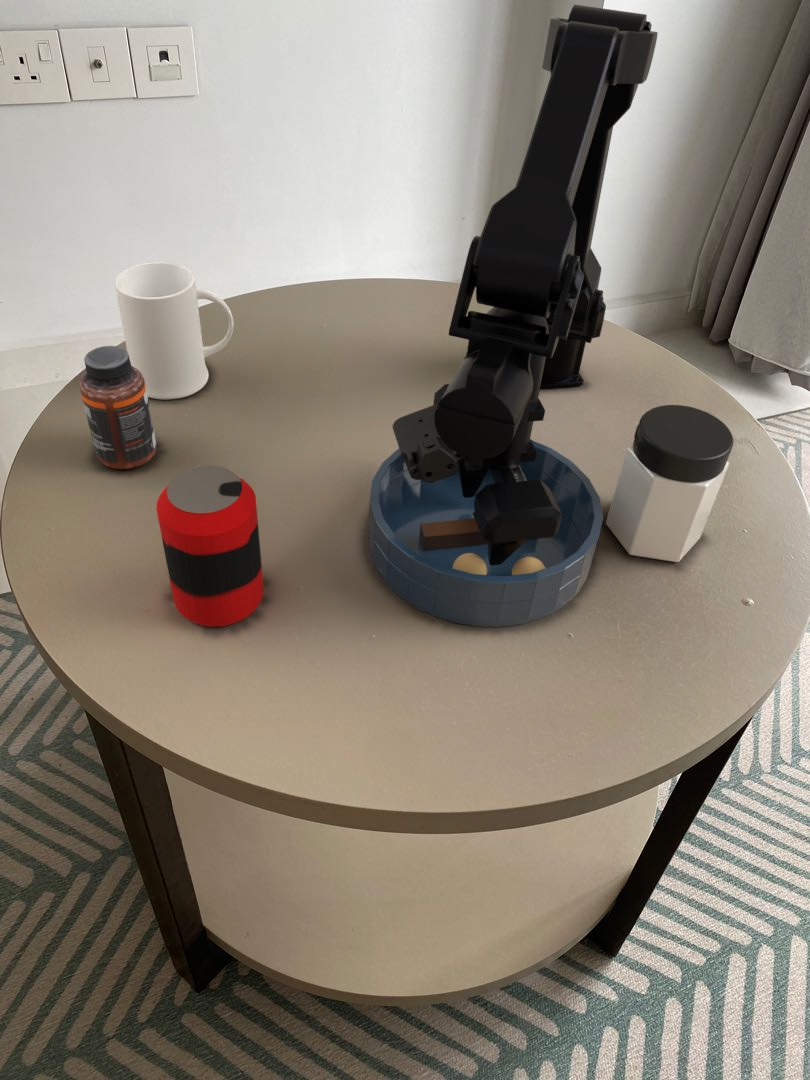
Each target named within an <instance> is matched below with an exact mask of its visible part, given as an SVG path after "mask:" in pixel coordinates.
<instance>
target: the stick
mask: <svg viewBox="0 0 810 1080" xmlns="http://www.w3.org/2000/svg"><path fill="white" fill-rule="evenodd" d="M419 539H420V542H421V545H422V548H423V551H429V550H438V549H447V548H457V547H466V546H475V545H484V544H488V541H486V540H484V538H483V536H482V534H481V533H480V531H479V528H478V526H477V523H476V521H475V518H472V519H462V520H452V521H442V522H433V523H423V524H420V534H419Z"/></svg>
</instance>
